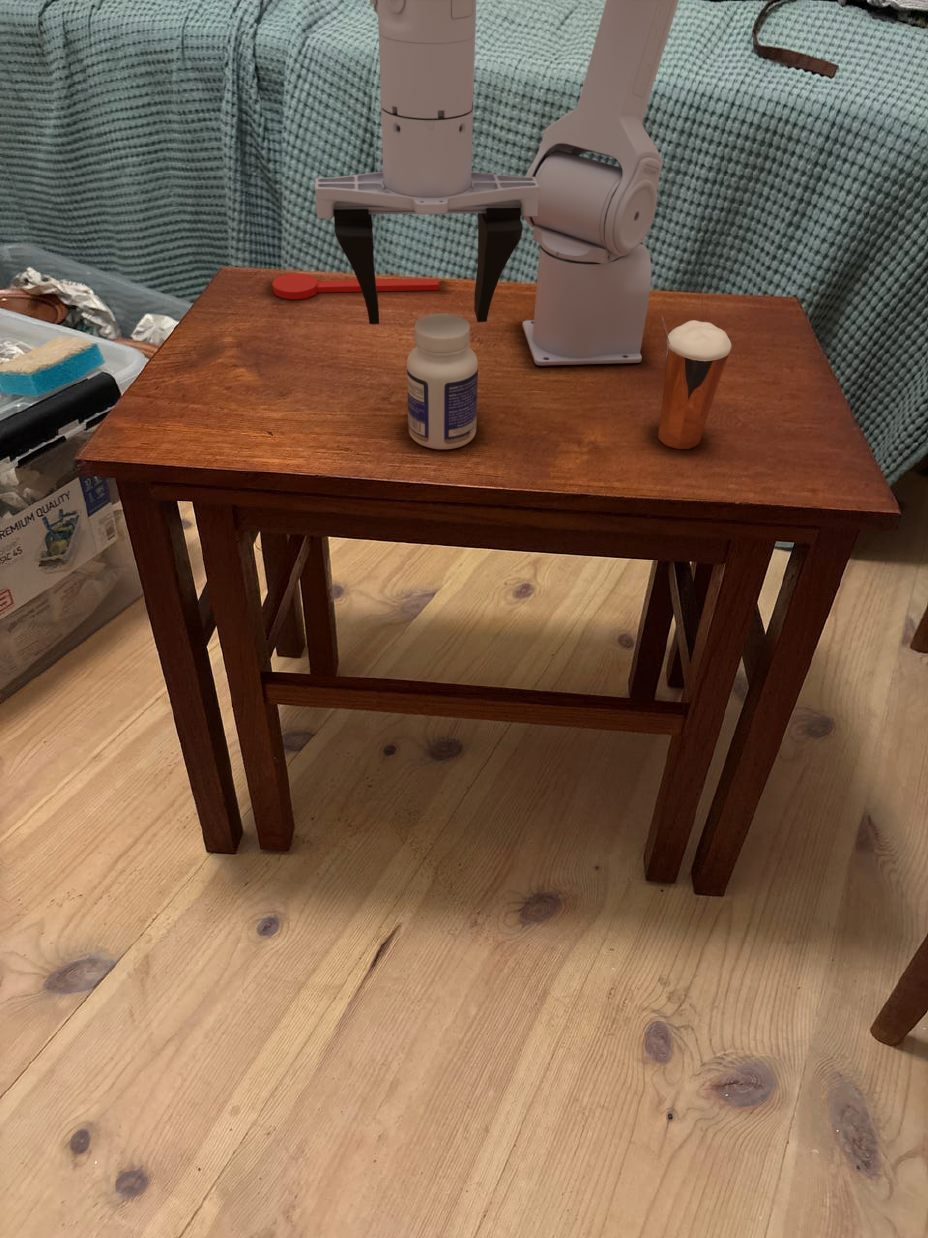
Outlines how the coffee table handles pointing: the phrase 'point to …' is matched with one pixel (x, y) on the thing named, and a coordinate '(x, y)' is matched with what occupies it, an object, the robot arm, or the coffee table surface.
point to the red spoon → (341, 285)
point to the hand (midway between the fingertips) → (427, 317)
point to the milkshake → (690, 381)
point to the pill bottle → (442, 383)
